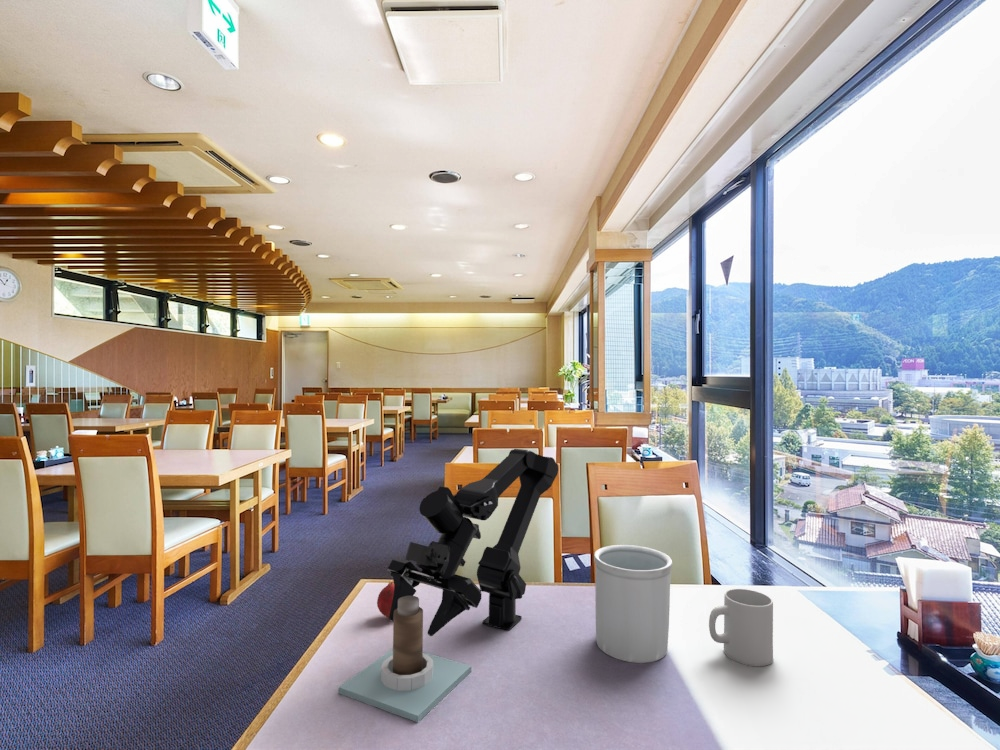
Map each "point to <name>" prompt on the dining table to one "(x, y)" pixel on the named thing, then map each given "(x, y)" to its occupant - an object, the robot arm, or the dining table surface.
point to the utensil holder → (632, 602)
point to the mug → (745, 627)
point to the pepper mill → (407, 636)
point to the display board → (405, 698)
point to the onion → (386, 599)
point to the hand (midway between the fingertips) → (409, 627)
